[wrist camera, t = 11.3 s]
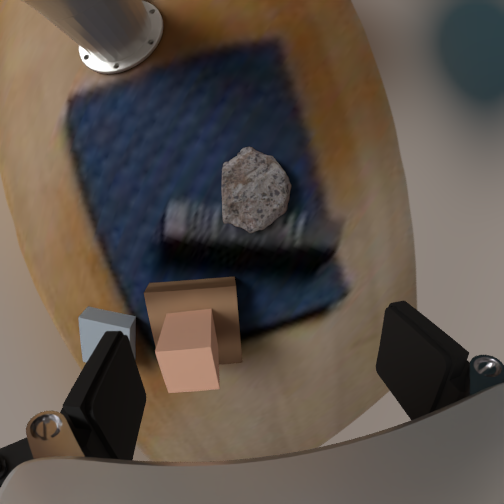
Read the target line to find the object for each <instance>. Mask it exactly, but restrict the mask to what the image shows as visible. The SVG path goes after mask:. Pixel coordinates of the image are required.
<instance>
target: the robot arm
mask: <svg viewBox="0 0 504 504" xmlns="http://www.w3.org/2000/svg"><path fill="white" fill-rule="evenodd" d="M22 1H23V2H25V3H27V4H28V5H30V6H31V7H32V8H34V9H35V10H37V11H38V12H39V13H40V14H42V15H43V16H44V17H45V18H47V19H48V20H49V21H50V22H52V23H53V24H54V25H55V26H57V27H58V28H59V29H60V30H61V31H63V32H64V33H65V34H66V35H68V36H69V37H70V38H71V39H72V40H74V41H75V42H76V43H77V44H78V45H79V54H80V58H81V60H82V61H83V63H84V64H85V65H86V66H87V67H88V68H90V69H91V70H93V71H95V72H97V73H102V74H114V73H120V72H123V71H126V70H129V69H131V68H133V67H135V66H137V65H138V64H139V63H141V62H142V61H144V60H145V59H146V58H147V57H148V56H149V55H150V54H151V53H152V52H153V51H154V49H155V48H156V47H157V45H158V43H159V42H160V39H161V37H162V34H163V19H162V16H161V14H160V12H159V10H158V9H157V8H156V7H155V6H154V5H152V4H151V3H149V2H146V1H143V0H22ZM152 43H153V44H152ZM151 44H152V45H151ZM118 66H119V67H118ZM117 67H118V68H117ZM468 355H469V352H468V351H467V350H465V349H464V348H463V347H462V346H461V345H459V344H458V343H457V342H456V341H455V340H453V339H452V338H451V337H450V336H448V335H447V334H446V333H445V332H444V331H442V330H441V329H440V328H438V327H437V326H436V325H435V324H434V323H432V322H431V321H430V320H429V319H427V318H426V317H425V316H424V315H422V314H421V313H420V312H419V311H417V310H416V309H415V308H413V307H412V306H411V305H410V304H408V303H407V302H406V301H399V302H394V303H391V304H390V305H389V307H388V308H386V310H385V315H384V322H383V328H382V334H381V340H380V346H379V352H378V357H377V362H376V371H377V373H378V375H379V376H380V377H381V379H382V380H383V382H384V383H385V384H386V386H387V387H388V388H389V390H390V391H391V392H392V394H393V395H394V396H395V398H396V399H397V401H398V402H399V403H400V405H401V406H402V408H403V409H404V410H405V412H406V413H407V415H408V416H409V417H410V419H411V421H409V422H406V423H403V424H400V425H397V426H394V427H392V428H388V429H385V430H382V431H379V432H376V433H373V434H369V435H366V436H363V437H359V438H355V439H352V440H348V441H344V442H340V443H336V444H332V445H328V446H324V447H319V448H314V449H309V450H304V451H298V452H293V453H287V454H280V455H274V456H266V457H258V458H249V459H239V460H227V461H209V462H152V461H133V460H132V459H133V455H134V450H135V445H136V441H137V437H138V432H139V428H140V424H141V420H142V416H143V411H144V407H145V403H146V393H145V389H144V387H143V384H142V381H141V377H140V374H139V371H138V368H137V365H136V362H135V358H134V355H133V352H132V348H131V345H130V341H129V338H128V336H127V335H124V334H123V332H122V331H106V332H105V333H104V335H103V336H102V338H101V339H100V341H99V343H98V344H97V346H96V348H95V349H94V351H93V353H92V354H91V356H90V358H89V359H88V361H87V363H86V365H85V366H84V368H83V370H82V371H81V373H80V375H79V377H78V378H77V380H76V382H75V384H74V386H73V387H72V389H71V391H70V393H69V395H68V397H67V398H66V400H65V402H64V404H63V408H62V410H61V412H60V413H59V412H56V411H44V412H40V413H38V414H36V415H35V416H33V417H32V418H31V419H30V421H29V422H28V423H27V426H26V435H27V438H24V439H22V440H20V441H18V442H15V443H13V444H10V445H8V446H6V447H3V448H1V449H0V504H504V365H503V364H502V362H501V361H500V360H498V359H497V358H495V357H493V356H489V355H479V356H475V357H473V358H472V360H471V361H470V363H469V362H468V361H467V358H468Z"/></svg>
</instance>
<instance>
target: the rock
mask: <svg viewBox="0 0 504 504" xmlns="http://www.w3.org/2000/svg"><path fill="white" fill-rule="evenodd" d="M290 189H291V184H290V181H289V177H288V176H287V175H286V172H285V171H284V170H283V168H282V167H281V166H280V164H279V163H277V161H276V160H275V159H274V157H273V156H268V155H264V154H263V153H261V152H258V151H256V150H255V149H254V148H252V147H246V148H243V149H242V150H241V151H240V152H239V153H238V154H237V156H236V157H234V158H233V159H231V160H230V161H229V162H225V163H224V164H223V169H222V214H223V223H225V224H226V223H229V224H231V223H232V224H233V225H234V226H236V227H241V228H243V229H245V230H246V231H248V232H249V233H254V232H255V231H258V230H263V229H265V228H266V227H267V226H269V225H271V224H272V223H273V221H275V220H276V219H277V218H278V217H279V216H281V215H283V214H284V213H285V212H286V210H287V206H288V201H289V198H290V196H289V195H290Z"/></svg>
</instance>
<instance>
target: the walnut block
mask: <svg viewBox="0 0 504 504" xmlns="http://www.w3.org/2000/svg"><path fill="white" fill-rule="evenodd" d="M144 296H145V301H146V306H147V311H148V316H149V320H150V325H151V329H152V334H153V338H154V342H155V346H156V347H157V344H158V340H159V337H160V334H161V330H162V327H163V324H164V321H165V317H166V314H167V313H176V312H186V311H195V310H204V309H212V314H213V320H214V326H215V331H216V337H217V342H218V355H219V364H231V363H242V351H241V340H240V328H239V317H238V305H237V292H236V283H235V277H224V278H212V279H199V280H186V281H173V282H159V283H149V285H148V287H147V288H146V290H145V292H144Z"/></svg>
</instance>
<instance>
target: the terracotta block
mask: <svg viewBox="0 0 504 504" xmlns="http://www.w3.org/2000/svg"><path fill="white" fill-rule="evenodd" d="M155 353H156V356H157V360H158V363H159V366H160V369H161V372H162V375H163V378H164V381H165V384H166V387H167V389H168V392H169V393H174V392H190V391H203V390H213V389H220V386H219V355H218V342H217V337H216V331H215V326H214V320H213V314H212V309H204V310H195V311H186V312H176V313H167V314H166V317H165V321H164V324H163V327H162V330H161V334H160V337H159V340H158V344H157V347H156V351H155Z"/></svg>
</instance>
